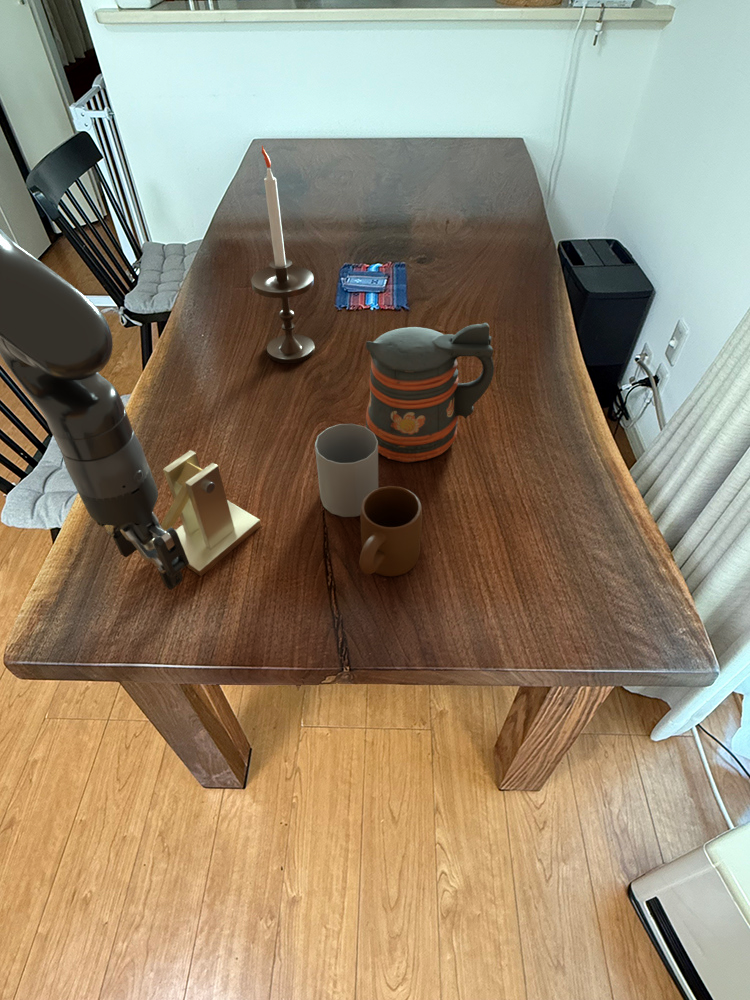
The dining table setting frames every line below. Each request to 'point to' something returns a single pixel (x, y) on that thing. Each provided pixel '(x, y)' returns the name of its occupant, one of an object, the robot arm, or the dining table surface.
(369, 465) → the cup
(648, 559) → the dining table surface
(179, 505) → the switch lever
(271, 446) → the dining table surface
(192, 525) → the switch bracket
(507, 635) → the dining table surface
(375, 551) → the mug
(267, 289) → the candlestick
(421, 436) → the beer stein
